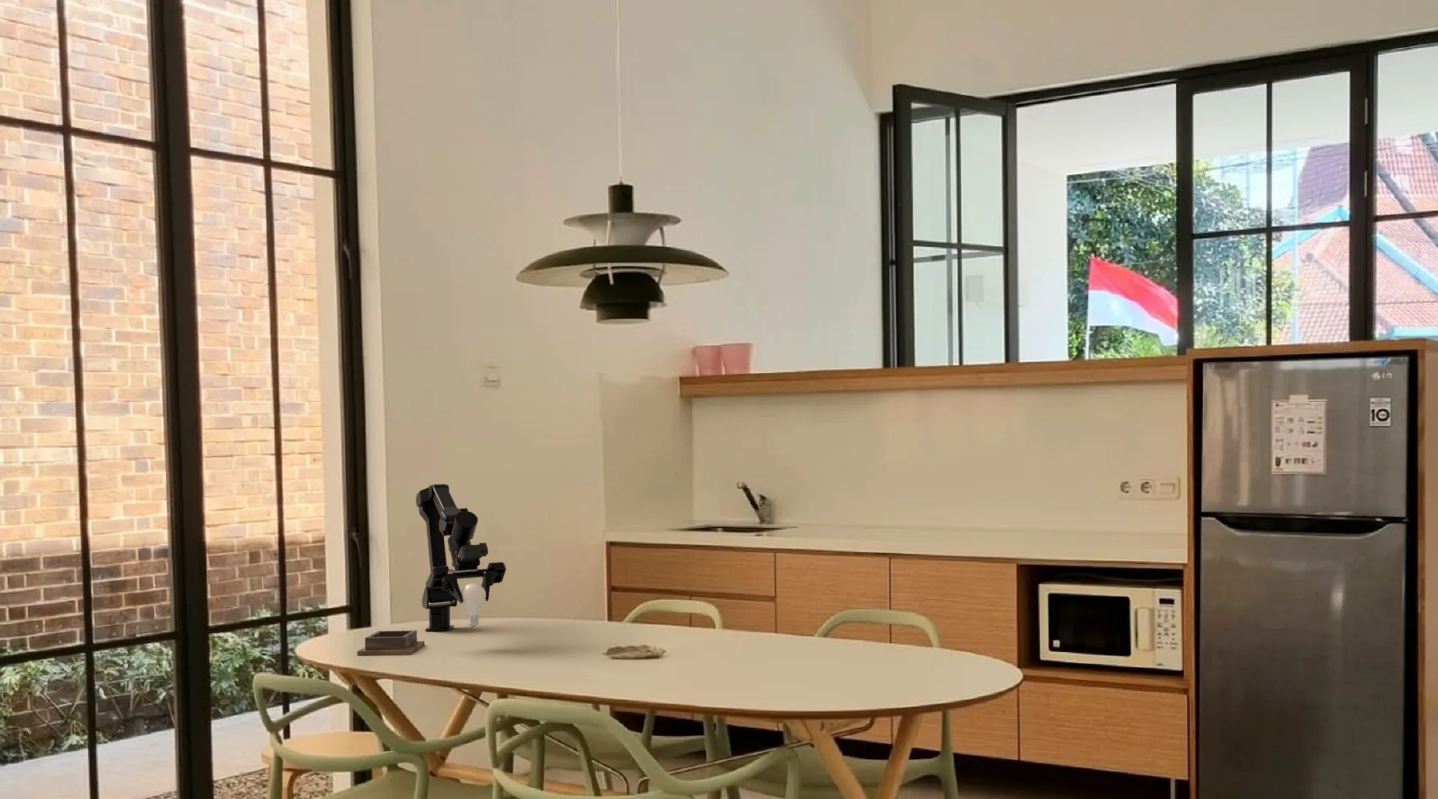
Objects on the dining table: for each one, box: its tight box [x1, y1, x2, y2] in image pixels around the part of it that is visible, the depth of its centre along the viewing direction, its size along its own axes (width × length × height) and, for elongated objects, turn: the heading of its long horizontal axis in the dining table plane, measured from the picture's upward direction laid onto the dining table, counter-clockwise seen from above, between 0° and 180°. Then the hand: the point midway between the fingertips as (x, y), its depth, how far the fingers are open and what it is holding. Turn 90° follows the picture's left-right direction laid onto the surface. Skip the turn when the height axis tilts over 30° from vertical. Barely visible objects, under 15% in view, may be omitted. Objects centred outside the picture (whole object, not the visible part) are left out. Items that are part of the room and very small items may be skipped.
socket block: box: [356, 630, 425, 656], centre depth 300 cm, size 13×13×4 cm
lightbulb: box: [460, 582, 486, 628], centre depth 300 cm, size 6×6×11 cm
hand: (474, 601), depth 299 cm, fingers closed on lightbulb, 6 cm apart
